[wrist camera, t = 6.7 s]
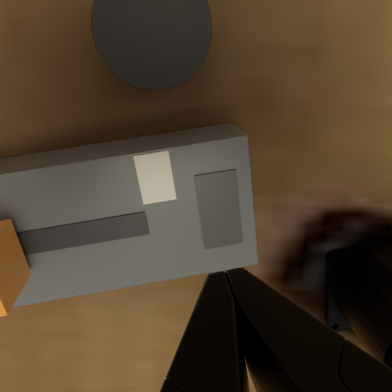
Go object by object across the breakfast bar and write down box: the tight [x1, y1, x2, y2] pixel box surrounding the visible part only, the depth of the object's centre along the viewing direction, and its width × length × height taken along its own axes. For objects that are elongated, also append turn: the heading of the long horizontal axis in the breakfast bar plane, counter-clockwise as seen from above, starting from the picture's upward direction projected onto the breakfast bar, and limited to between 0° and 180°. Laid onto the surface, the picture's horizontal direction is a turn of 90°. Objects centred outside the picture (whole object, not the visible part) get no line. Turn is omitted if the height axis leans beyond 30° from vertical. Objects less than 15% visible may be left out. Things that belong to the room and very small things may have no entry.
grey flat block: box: [0, 122, 258, 307], centre depth 19 cm, size 7×18×4 cm, turn 98°
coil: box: [91, 0, 212, 90], centre depth 16 cm, size 5×5×3 cm
